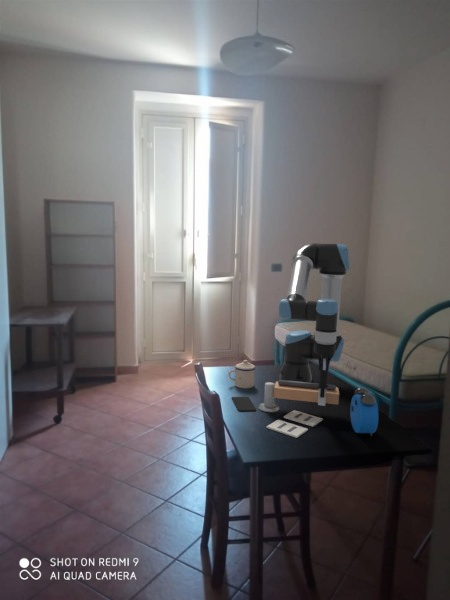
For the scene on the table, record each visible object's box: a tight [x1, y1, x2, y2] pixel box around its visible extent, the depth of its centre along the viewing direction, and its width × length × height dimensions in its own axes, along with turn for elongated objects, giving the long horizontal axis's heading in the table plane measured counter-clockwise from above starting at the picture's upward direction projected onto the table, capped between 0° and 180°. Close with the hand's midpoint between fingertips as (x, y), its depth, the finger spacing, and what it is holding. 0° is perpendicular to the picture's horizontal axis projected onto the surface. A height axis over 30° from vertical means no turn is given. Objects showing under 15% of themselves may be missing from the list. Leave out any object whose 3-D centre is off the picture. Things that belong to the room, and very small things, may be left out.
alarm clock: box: [349, 386, 379, 437], centre depth 156 cm, size 13×6×15 cm, turn 0°
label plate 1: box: [266, 419, 309, 439], centre depth 157 cm, size 8×12×1 cm, turn 52°
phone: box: [231, 396, 257, 413], centre depth 179 cm, size 7×1×15 cm
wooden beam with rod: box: [263, 379, 340, 408], centre depth 172 cm, size 28×8×11 cm, turn 79°
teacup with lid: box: [227, 359, 256, 389], centre depth 200 cm, size 12×9×12 cm
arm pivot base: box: [258, 402, 280, 414], centre depth 175 cm, size 8×8×1 cm
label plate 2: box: [283, 409, 324, 427], centre depth 166 cm, size 8×12×1 cm, turn 52°
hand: (321, 404), depth 165 cm, fingers closed
